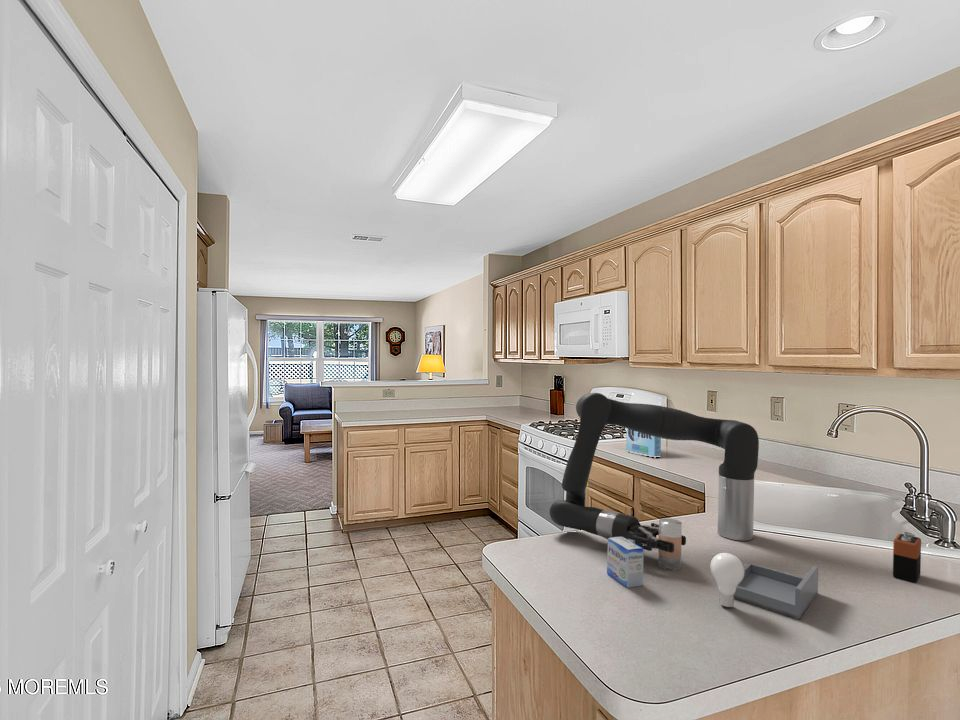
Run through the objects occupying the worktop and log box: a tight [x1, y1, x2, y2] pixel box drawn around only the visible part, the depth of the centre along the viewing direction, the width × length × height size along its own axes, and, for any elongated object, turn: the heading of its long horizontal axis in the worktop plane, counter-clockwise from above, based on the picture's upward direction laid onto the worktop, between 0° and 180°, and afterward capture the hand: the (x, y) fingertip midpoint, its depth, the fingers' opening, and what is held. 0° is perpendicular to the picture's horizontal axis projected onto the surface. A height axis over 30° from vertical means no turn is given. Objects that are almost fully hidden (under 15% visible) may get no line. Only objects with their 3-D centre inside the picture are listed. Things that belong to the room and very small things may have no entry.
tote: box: [734, 562, 819, 621], centre depth 109 cm, size 16×14×6 cm
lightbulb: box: [709, 552, 745, 608], centre depth 103 cm, size 6×6×11 cm
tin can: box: [657, 517, 683, 571], centre depth 123 cm, size 5×5×11 cm
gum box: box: [625, 428, 662, 456], centre depth 263 cm, size 20×5×23 cm, turn 30°
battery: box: [892, 531, 922, 584], centre depth 119 cm, size 4×7×10 cm, turn 132°
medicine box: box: [606, 537, 645, 589], centre depth 115 cm, size 8×4×9 cm, turn 21°
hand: (679, 544), depth 121 cm, fingers open, 6 cm apart
